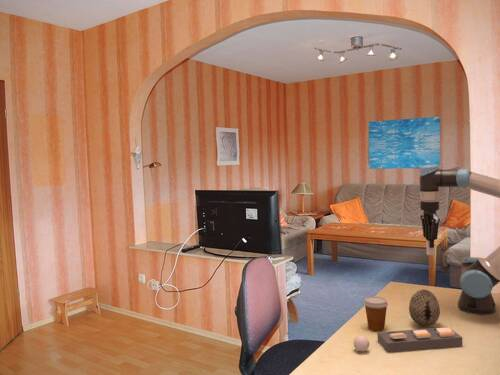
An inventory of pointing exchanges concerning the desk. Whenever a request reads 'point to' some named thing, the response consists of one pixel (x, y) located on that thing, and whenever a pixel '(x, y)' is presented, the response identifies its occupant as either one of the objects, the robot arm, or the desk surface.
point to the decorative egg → (424, 308)
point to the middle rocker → (421, 334)
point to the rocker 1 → (398, 335)
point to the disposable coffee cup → (376, 312)
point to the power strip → (417, 341)
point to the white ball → (361, 343)
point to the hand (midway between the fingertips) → (430, 254)
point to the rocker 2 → (445, 332)
